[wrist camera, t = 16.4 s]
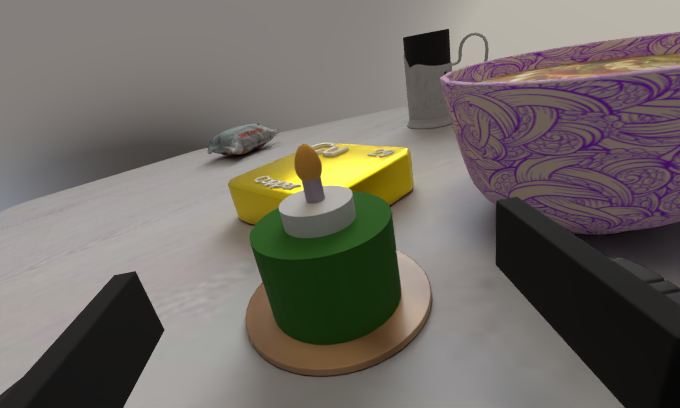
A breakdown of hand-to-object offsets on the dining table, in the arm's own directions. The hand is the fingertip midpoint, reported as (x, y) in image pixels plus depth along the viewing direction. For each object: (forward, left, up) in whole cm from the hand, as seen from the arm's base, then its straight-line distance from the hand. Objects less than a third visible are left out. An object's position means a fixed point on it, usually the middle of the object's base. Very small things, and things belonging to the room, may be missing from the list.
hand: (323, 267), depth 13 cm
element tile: (-12, -21, -8) cm, 26 cm away
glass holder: (-46, -32, -8) cm, 56 cm away
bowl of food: (-24, -1, -8) cm, 25 cm away
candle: (-4, -7, -7) cm, 10 cm away
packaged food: (-17, -57, -8) cm, 60 cm away
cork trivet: (-4, -7, -8) cm, 11 cm away
